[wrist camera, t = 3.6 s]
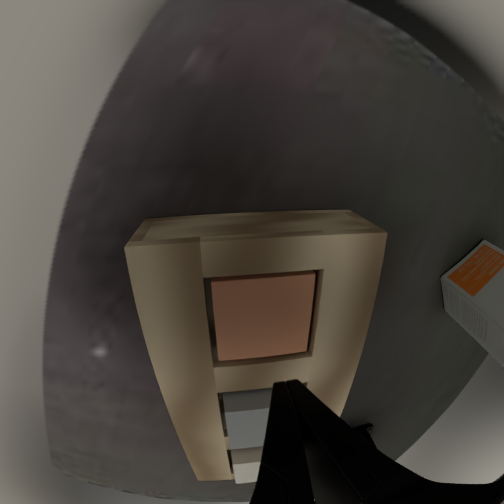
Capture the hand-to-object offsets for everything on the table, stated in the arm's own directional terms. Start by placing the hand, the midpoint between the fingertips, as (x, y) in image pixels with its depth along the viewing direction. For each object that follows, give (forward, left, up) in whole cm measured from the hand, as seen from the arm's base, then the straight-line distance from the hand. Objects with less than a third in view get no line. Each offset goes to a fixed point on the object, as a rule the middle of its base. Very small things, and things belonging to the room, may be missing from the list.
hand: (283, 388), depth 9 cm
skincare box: (-18, +2, -8) cm, 20 cm away
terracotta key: (0, 0, -6) cm, 6 cm away
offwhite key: (0, +14, -5) cm, 15 cm away
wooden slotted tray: (0, +7, -8) cm, 11 cm away
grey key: (0, +7, -5) cm, 9 cm away
